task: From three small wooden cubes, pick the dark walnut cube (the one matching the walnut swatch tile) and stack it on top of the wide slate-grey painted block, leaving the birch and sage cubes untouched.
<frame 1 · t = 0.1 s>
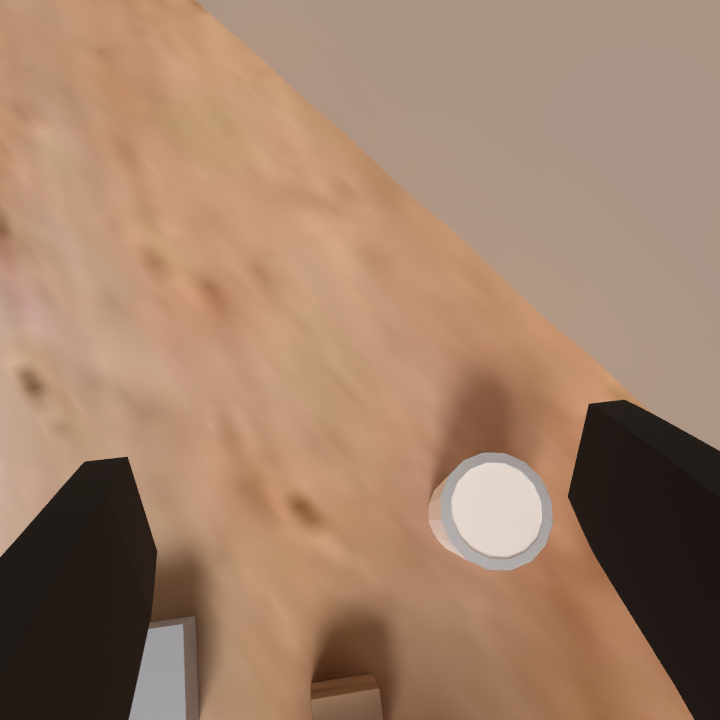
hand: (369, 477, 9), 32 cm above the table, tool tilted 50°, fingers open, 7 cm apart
walnut cube: (345, 712, 36), on the table
slate base: (149, 673, 36), on the table
shot glass: (466, 514, 41), on the table
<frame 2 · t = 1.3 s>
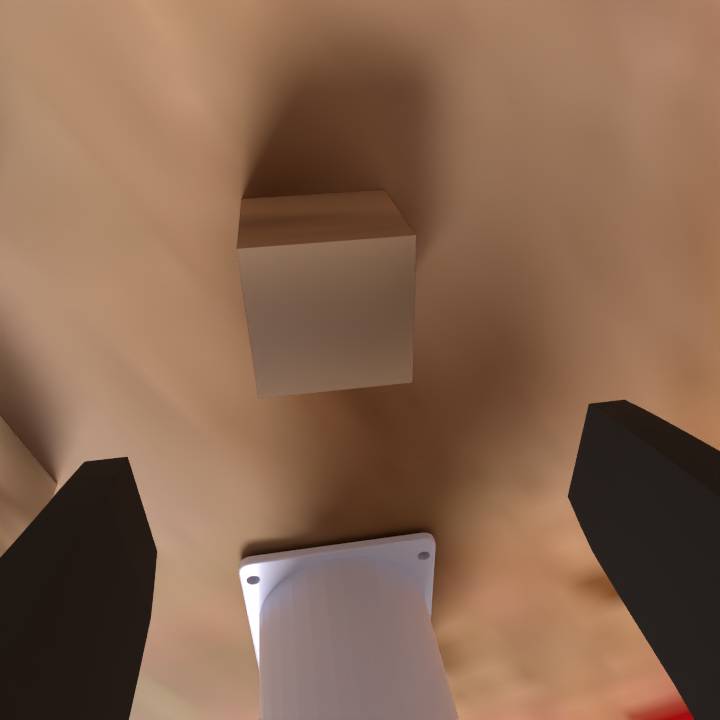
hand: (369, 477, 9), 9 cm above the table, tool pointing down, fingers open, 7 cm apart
walnut cube: (318, 260, 17), on the table
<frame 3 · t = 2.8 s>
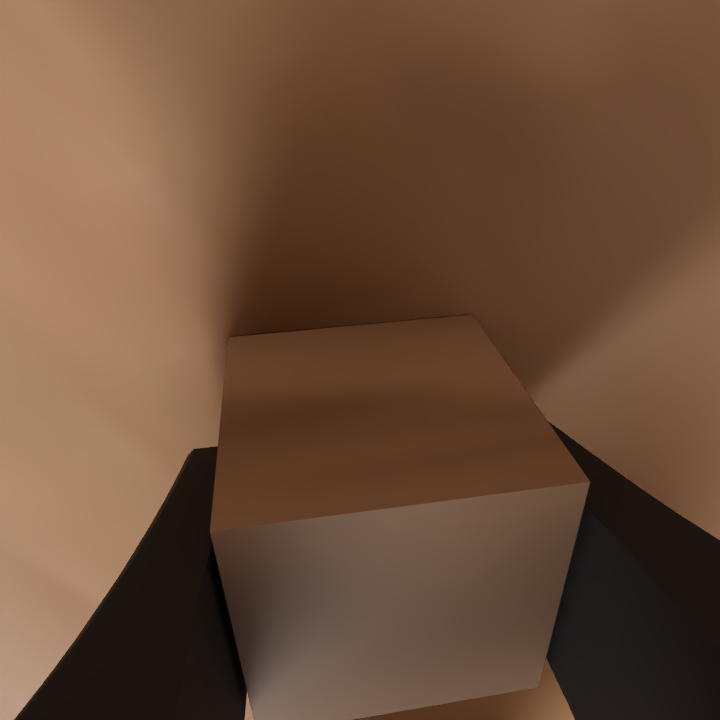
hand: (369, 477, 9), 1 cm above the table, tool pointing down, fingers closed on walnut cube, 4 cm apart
walnut cube: (356, 423, 10), on the table, touching gripper
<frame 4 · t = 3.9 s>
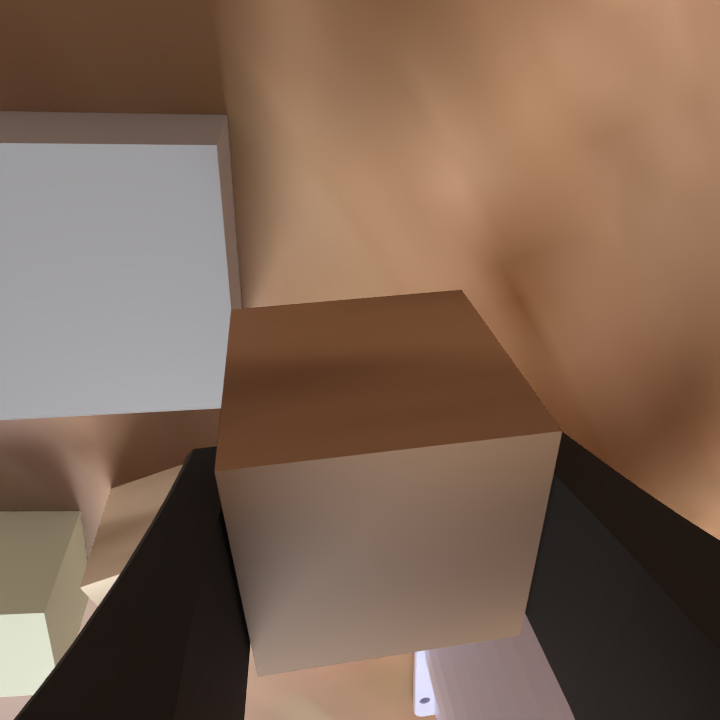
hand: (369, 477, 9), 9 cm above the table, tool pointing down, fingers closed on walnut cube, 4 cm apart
sage cube: (25, 550, 20), on the table
walnut cube: (352, 394, 11), point 6 cm above the table, touching gripper
slate base: (121, 233, 15), on the table
birch cube: (193, 507, 20), on the table
when the fingers open (6 cm above the table, at t = 5.0 s): walnut cube stays where it is, resting on slate base.
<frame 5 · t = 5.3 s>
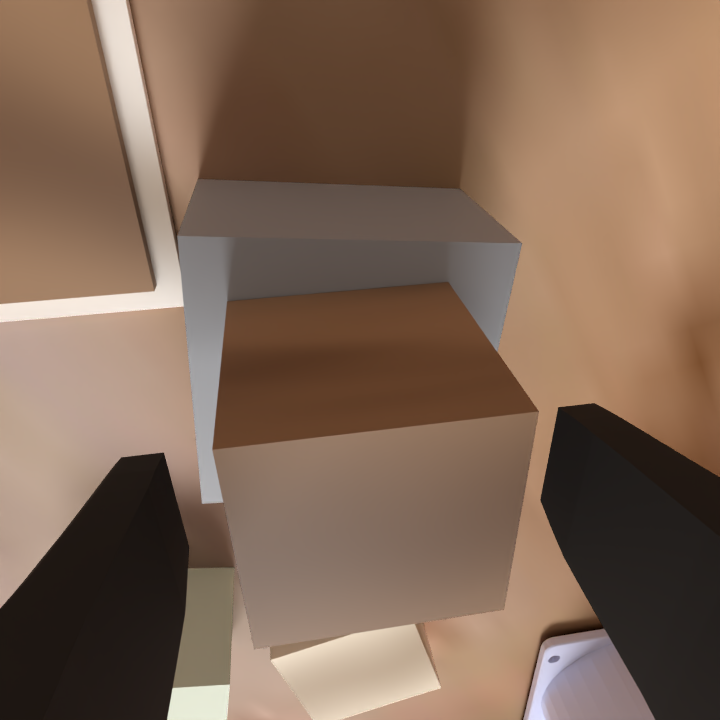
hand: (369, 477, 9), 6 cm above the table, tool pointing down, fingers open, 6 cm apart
sage cube: (172, 605, 20), on the table
walnut cube: (344, 383, 11), point 4 cm above the table, touching slate base
slate base: (327, 299, 15), on the table, touching walnut cube
birch cube: (343, 562, 20), on the table
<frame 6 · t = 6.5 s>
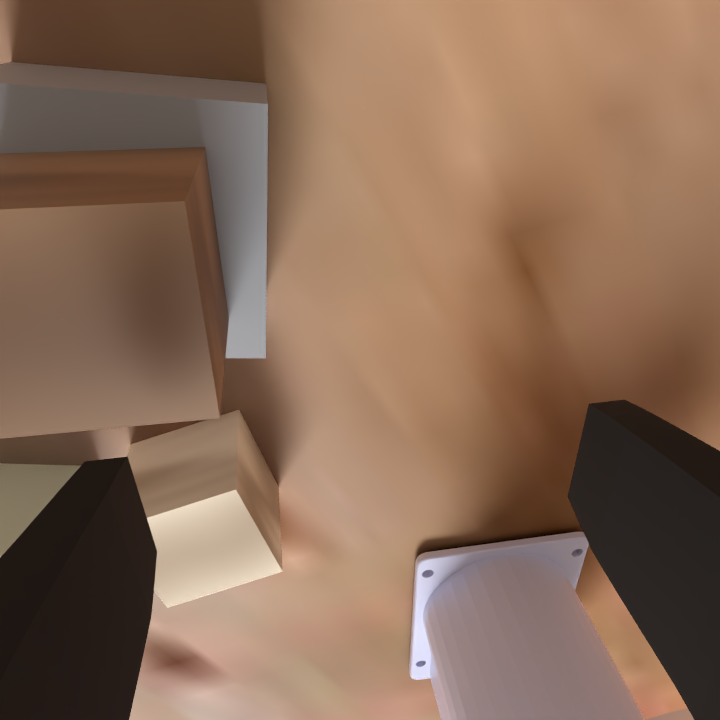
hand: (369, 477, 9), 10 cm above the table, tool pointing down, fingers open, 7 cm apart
sage cube: (44, 504, 21), on the table
walnut cube: (125, 245, 13), point 4 cm above the table, touching slate base
slate base: (155, 192, 16), on the table, touching walnut cube
birch cube: (208, 465, 21), on the table
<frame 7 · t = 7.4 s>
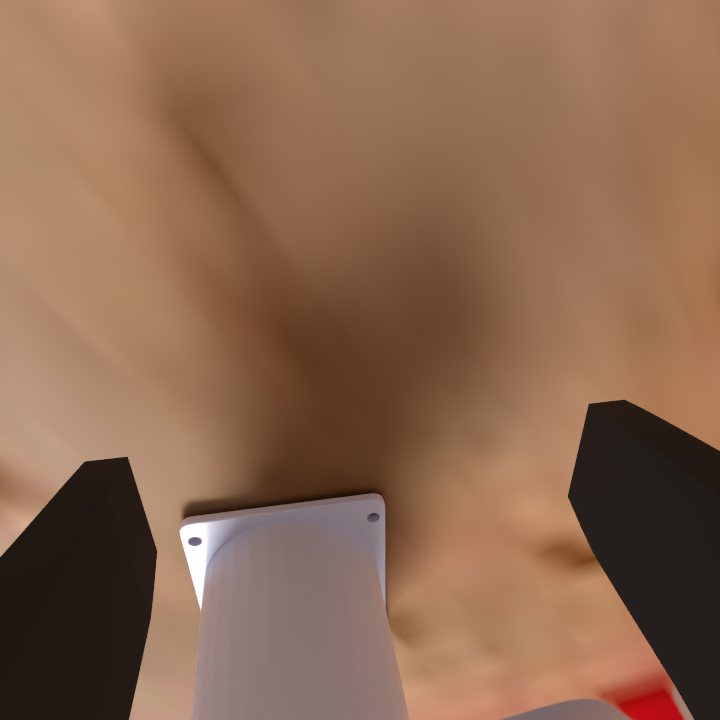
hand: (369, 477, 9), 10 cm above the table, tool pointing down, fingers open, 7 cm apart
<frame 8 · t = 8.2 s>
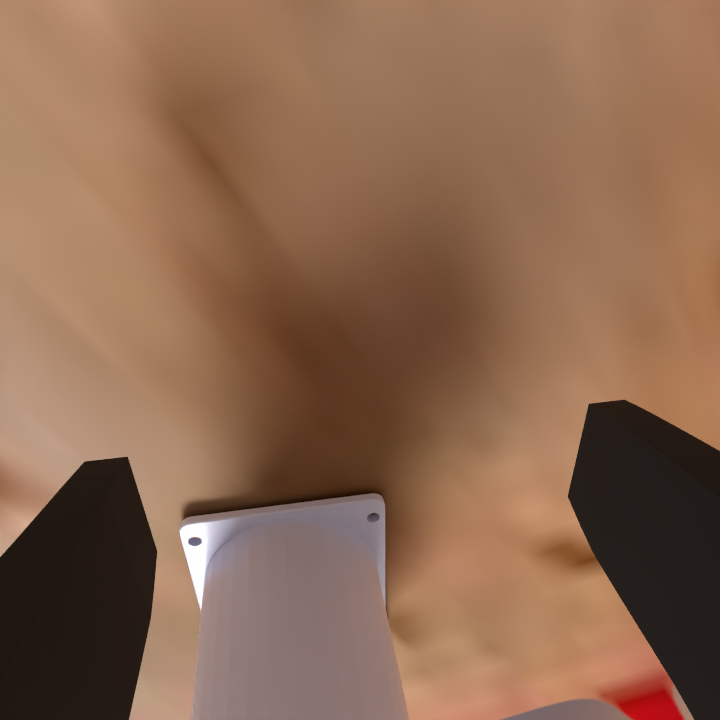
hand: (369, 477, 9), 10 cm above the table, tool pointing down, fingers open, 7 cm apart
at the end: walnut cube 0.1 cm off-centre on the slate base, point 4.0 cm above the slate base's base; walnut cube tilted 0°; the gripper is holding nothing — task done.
